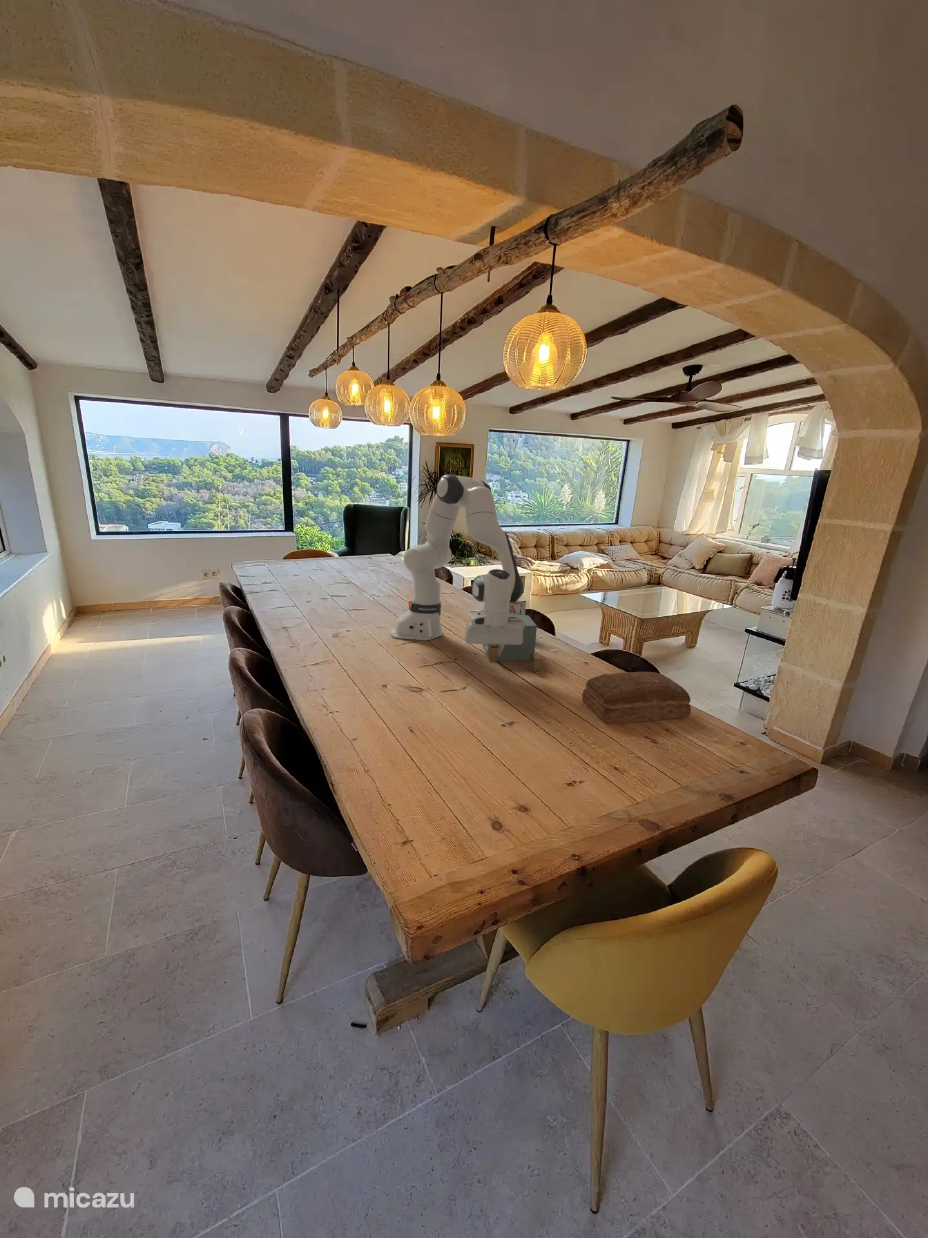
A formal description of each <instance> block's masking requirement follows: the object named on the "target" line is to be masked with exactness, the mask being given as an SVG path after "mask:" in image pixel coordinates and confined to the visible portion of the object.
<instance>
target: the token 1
mask: <svg viewBox="0 0 928 1238" xmlns="http://www.w3.org/2000/svg"><path fill="white" fill-rule="evenodd" d="M487 650H489V651H490V653H489V656H486V657H487V659H488V662H489V663H490V664H497V663H498V660H497V653H498V647H497V645H496V644H488V649H487Z"/></svg>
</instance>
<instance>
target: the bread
mask: <svg viewBox="0 0 928 1238" xmlns="http://www.w3.org/2000/svg"><path fill="white" fill-rule="evenodd" d="M581 698H582V702H583V703H584V704H585V703H586V704H585V705H586V706H587V707H589V708H590V709H591V710H592V712H594V713H595V715H596V716H597V717H598V718H600V720H601V721H602V722H604V723H605V724H606V725H609V724H610V725H612V724H626V723H637V722H649V721H659V720H666V719H686V718H687V719H688V717H689V716H690V714H691V711H692V710H691V705H690V703H691V697H690V694H689V692H688V691H686V689H685V688H684V687H683V686H681V685H680V684H678V683H677V682H676V681H674V680H673V679H671V678H669V677H668V676H666V675H664V674H663V673H659V672H654V671H635V672H634V671H633V672H632V671H631V672H629V671H628V672H617V673H603V674H601V675H598V676H594V677H591V678H590V679H588V681H586V684H585V688H584V690H583V691H582V695H581Z"/></svg>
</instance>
